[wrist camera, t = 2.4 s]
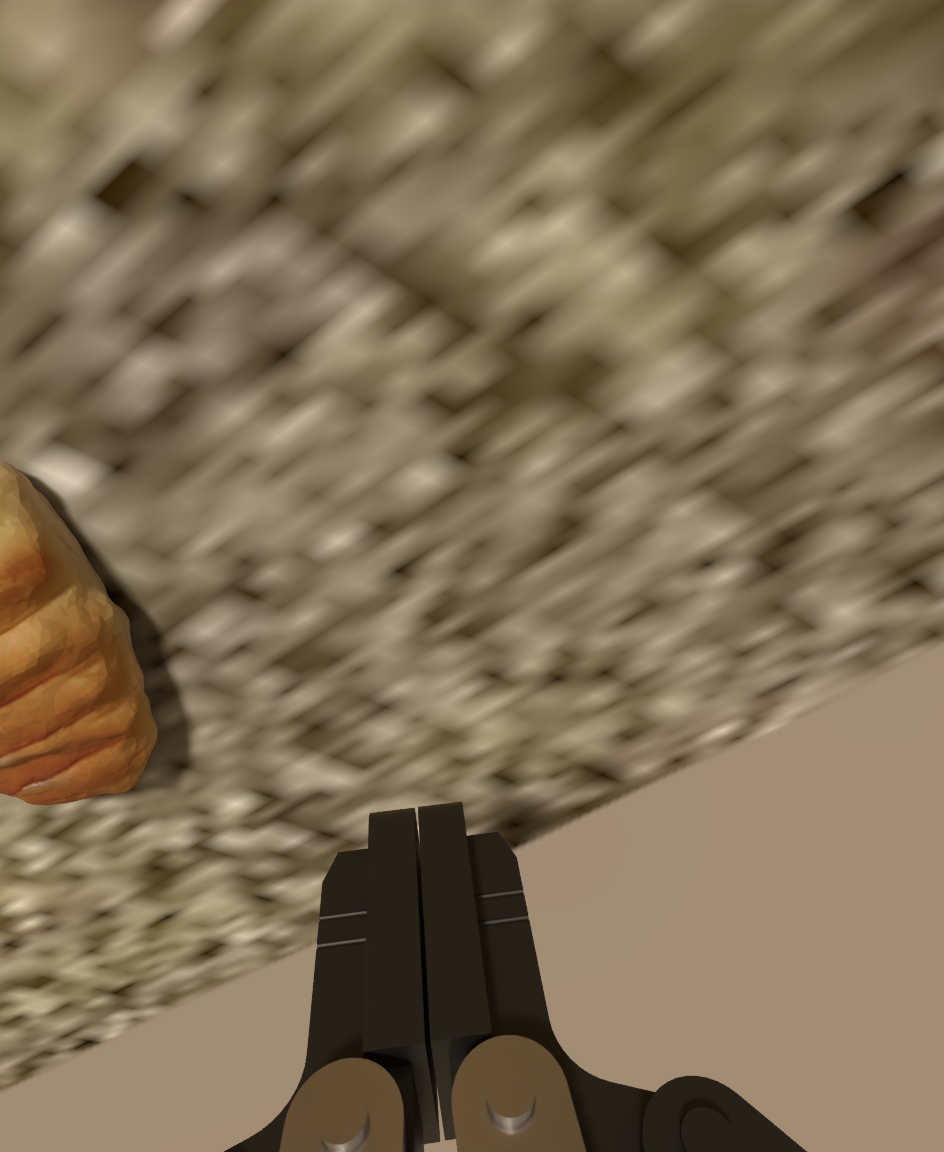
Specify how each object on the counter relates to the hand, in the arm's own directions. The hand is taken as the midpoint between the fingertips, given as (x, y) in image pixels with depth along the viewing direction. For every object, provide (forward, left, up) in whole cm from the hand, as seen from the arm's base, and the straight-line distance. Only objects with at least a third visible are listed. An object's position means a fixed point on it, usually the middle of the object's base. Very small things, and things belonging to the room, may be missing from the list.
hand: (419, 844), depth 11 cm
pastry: (-1, -10, -9) cm, 13 cm away
